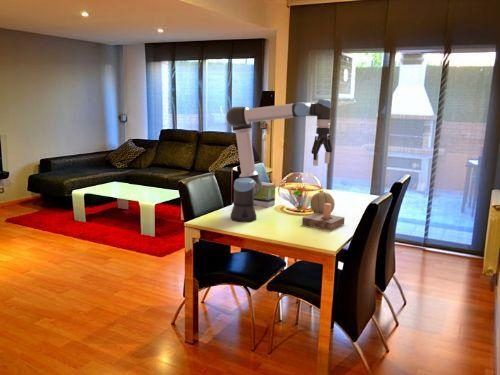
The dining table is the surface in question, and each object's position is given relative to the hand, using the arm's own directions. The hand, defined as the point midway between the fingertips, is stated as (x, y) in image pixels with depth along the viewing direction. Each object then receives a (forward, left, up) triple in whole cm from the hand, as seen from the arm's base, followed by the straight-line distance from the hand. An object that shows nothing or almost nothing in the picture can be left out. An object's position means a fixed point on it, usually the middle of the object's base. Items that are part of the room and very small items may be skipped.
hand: (321, 164), depth 248 cm
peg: (+9, -7, -33) cm, 35 cm away
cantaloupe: (-3, +10, -33) cm, 35 cm away
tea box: (-47, +8, -33) cm, 58 cm away
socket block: (+7, -7, -33) cm, 34 cm away
